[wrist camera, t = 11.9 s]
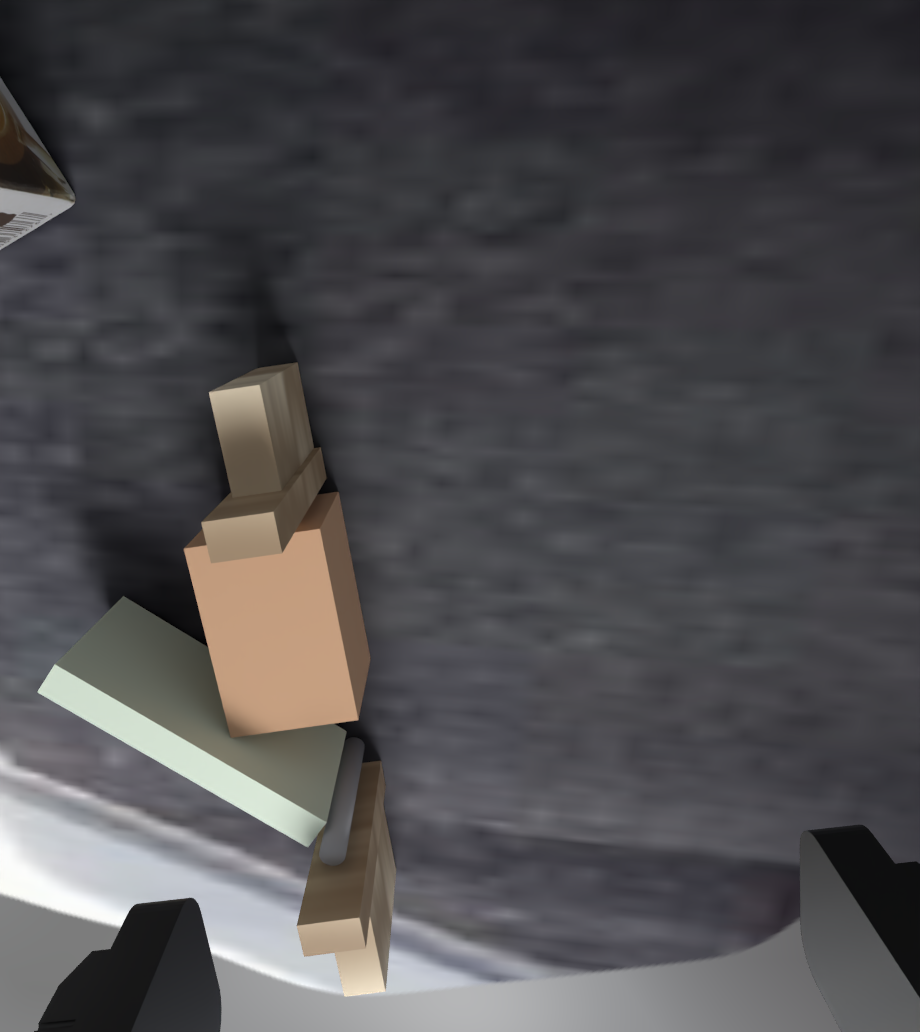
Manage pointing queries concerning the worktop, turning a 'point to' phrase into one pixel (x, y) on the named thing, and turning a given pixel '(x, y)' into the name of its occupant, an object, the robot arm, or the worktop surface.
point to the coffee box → (26, 175)
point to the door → (207, 728)
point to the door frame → (266, 531)
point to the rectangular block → (285, 628)
